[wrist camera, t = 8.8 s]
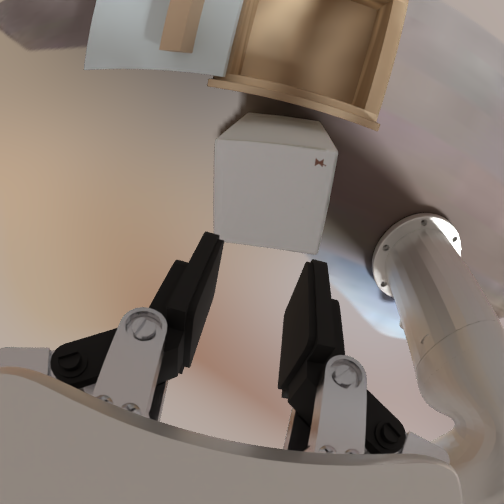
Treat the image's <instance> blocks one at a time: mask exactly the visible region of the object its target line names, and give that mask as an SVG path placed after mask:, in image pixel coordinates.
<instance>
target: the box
mask: <svg viewBox="0 0 504 504" xmlns="http://www.w3.org/2000/svg"><path fill="white" fill-rule="evenodd" d="M408 1H409V0H244V1H243V5H242V8H241V12H240V16H239V20H238V24H237V28H236V32H235V36H234V40H233V44H232V49H231V53H230V57H229V62H228V66H227V71H226V75H225V77H220V76H213V79H208V85H207V86H209V87H216V88H222V89H228V90H234V91H239V92H244V93H249V94H254V95H259V96H263V97H268V98H272V99H276V100H280V101H284V102H288V103H292V104H296V105H300V106H303V107H307V108H310V109H314V110H317V111H320V112H324V113H327V114H330V115H333V116H336V117H339V118H342V119H345V120H348V121H351V122H354V123H356V124H359V125H362V126H365V127H367V128H370V129H373V130H375V131H378V130H379V127H380V124H378V123H377V122H376V121H377V117H378V114H379V111H380V108H381V105H382V102H383V98H384V95H385V92H386V88H387V85H388V82H389V78H390V75H391V71H392V67H393V64H394V60H395V56H396V53H397V49H398V45H399V41H400V37H401V33H402V28H403V24H404V20H405V15H406V11H407V6H408Z"/></svg>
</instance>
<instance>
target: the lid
mask: <svg viewBox="0 0 504 504" xmlns="http://www.w3.org/2000/svg"><path fill="white" fill-rule="evenodd" d="M243 1H244V0H97V1H96V5H95V9H94V13H93V18H92V23H91V27H90V33H89V38H88V44H87V50H86V57H85V64H84V70H93V69H150V70H167V71H179V72H189V73H198V74H206V75H213V76H220V77H225V75H226V71H227V66H228V62H229V57H230V53H231V49H232V44H233V40H234V36H235V32H236V28H237V24H238V20H239V16H240V12H241V8H242V5H243Z"/></svg>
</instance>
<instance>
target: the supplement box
mask: <svg viewBox="0 0 504 504" xmlns="http://www.w3.org/2000/svg"><path fill="white" fill-rule="evenodd" d="M214 148H215V149H214V201H213V202H214V205H213V206H214V207H213V210H214V234H217V235H220V238H219V239H221V240H224V242H227V243H236V244H244V245H251V246H259V247H267V248H274V249H281V250H287V251H293V252H300V253H307V254H313V255H316V254H317V253H318V250H319V246H320V242H321V237H322V232H323V228H324V223H325V219H326V214H327V210H328V206H329V201H330V194H331V188H332V183H333V178H334V173H335V168H336V162H337V157H338V151H337V149H336V147H335V146H334V144H333V142H332V140H331V139H330V137H329V135H328V134H327V132H326V130H325V129H324V127H323V126H322V124H321V122H320V121H315V120H308V119H301V118H294V117H287V116H279V115H270V114H259V113H247V114H246V115H245V116H243V117H242V118H241V119H240V120H238V121H237V122H236V123H235V124H233V125H232V126H231V127H230V128H229V129H227V130H226V131H225V132H224V133H223V134H221V135H220V136H219V137H218V138H217V139H215V147H214Z"/></svg>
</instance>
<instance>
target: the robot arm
mask: <svg viewBox="0 0 504 504" xmlns="http://www.w3.org/2000/svg"><path fill="white" fill-rule="evenodd" d="M219 238H220V235H217V234H213V233H209V232H205V233H204V234H203V236H202V238H201V240H200V242H199V244H198V246H197V248H196V250H195V251H194V253H193V255H192V257H191V259H190V261H189V263H187V262H184V261H180V260H176V261H175V262H174V264H173V265H172V267H171V269H170V271H169V272H168V274H167V276H166V278H165V280H164V281H163V283H162V285H161V287H160V288H159V291H158V292H157V294H156V296H155V297H154V299H153V301H152V303H151V305H150V307H149V308H144V307H142V308H135V309H133V310H131V311H129V312H127V313H126V314H125V315H124V317H123V318H122V319H121V321H120V324H119V326H118V328H116V329H113V330H109V331H106V332H103V333H99V334H96V335H93V336H90V337H86V338H83V339H80V340H76V341H73V342H69V343H66V344H64V345H61V346H60V347H58V348H57V349H56V350H55V351H51V350H50V349H49V348H17V347H5V348H1V349H0V504H504V328H503V326H502V325H501V323H500V321H499V319H498V317H497V315H496V313H495V311H494V309H493V308H492V306H491V304H490V302H489V300H488V299H487V297H486V295H485V294H484V292H483V290H482V289H481V287H480V285H479V284H478V282H477V280H476V279H475V277H474V276H473V274H472V273H471V271H470V270H469V268H468V266H467V265H466V263H465V262H464V261H463V259H462V258H461V256H460V255H461V240H460V237H459V234H458V232H457V231H456V229H455V227H454V226H453V225H452V224H451V223H450V222H449V221H448V220H447V219H445V218H444V217H442V216H439V215H437V214H432V213H419V214H415V215H411V216H408V217H406V218H404V219H402V220H400V221H399V222H397V223H396V224H394V225H393V226H392V227H391V228H390V229H389V230H387V231H386V232H385V234H384V235H383V236H382V238H381V239H380V240H379V242H378V244H377V246H376V248H375V251H374V254H373V257H372V272H373V276H374V279H375V281H376V284H377V286H378V287H379V288H380V289H381V291H383V292H384V293H385V294H387V295H389V296H391V297H393V298H394V300H395V303H396V306H397V309H398V312H399V315H400V327H401V328H402V329H404V332H405V335H406V339H407V343H408V346H409V350H410V353H411V358H412V361H413V365H414V369H415V374H416V379H417V383H418V387H419V390H420V393H421V395H422V397H423V399H424V400H425V402H426V403H427V404H428V405H429V406H430V407H431V408H433V409H434V410H436V411H438V412H440V413H442V414H444V415H446V416H448V417H450V418H451V419H452V420H453V421H454V422H455V426H454V428H453V429H452V430H451V431H449V432H448V433H446V434H444V435H442V436H440V437H439V438H437V439H435V440H433V441H431V442H429V441H427V440H425V439H423V438H422V437H420V436H418V435H416V434H414V433H412V432H408V433H406V432H405V429H404V427H403V425H402V424H401V422H400V421H399V420H398V419H397V418H396V417H395V416H394V415H393V414H392V413H391V412H390V411H389V410H388V409H386V408H385V407H384V406H383V405H382V404H381V403H380V402H379V401H378V400H377V399H376V398H375V397H374V396H373V395H372V394H371V393H370V392H369V391H368V390H367V378H366V372H365V370H364V368H363V366H362V365H361V364H360V363H359V362H358V361H357V360H355V359H354V358H352V357H349V356H346V355H345V351H344V340H343V331H342V322H341V314H340V306H339V302H338V301H337V300H334V299H331V292H330V283H329V274H328V266H327V263H325V262H322V261H318V260H314V259H313V260H312V261H311V263H310V262H306V263H305V265H304V268H303V270H302V273H301V275H300V278H299V280H298V282H297V285H296V287H295V289H294V292H293V294H292V296H291V299H290V301H289V304H288V306H287V308H286V311H285V314H284V322H283V334H282V346H281V358H280V369H279V380H278V389H282V398H287V399H288V403H289V404H290V405H291V406H292V407H293V408H292V410H291V415H290V420H289V425H288V430H287V434H286V438H285V443H284V447H283V449H276V448H269V447H262V446H256V445H250V444H245V443H240V442H235V441H229V440H225V439H220V438H216V437H211V436H208V435H204V434H200V433H196V432H192V431H188V430H185V429H181V428H178V427H175V426H171V425H168V424H165V423H162V422H160V418H161V413H162V408H163V403H164V398H165V394H166V389H167V385H168V380H170V379H172V378H175V377H177V376H178V373H180V374H182V372H183V369H184V367H188V368H189V367H190V366H191V363H192V360H193V356H194V354H195V351H196V348H197V345H198V342H199V339H200V336H201V333H202V330H203V327H204V324H205V321H206V318H207V315H208V312H209V309H210V306H211V303H212V300H213V297H214V293H215V287H216V282H217V277H218V271H219V265H220V260H221V255H222V250H223V244H224V240H221V239H219Z"/></svg>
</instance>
